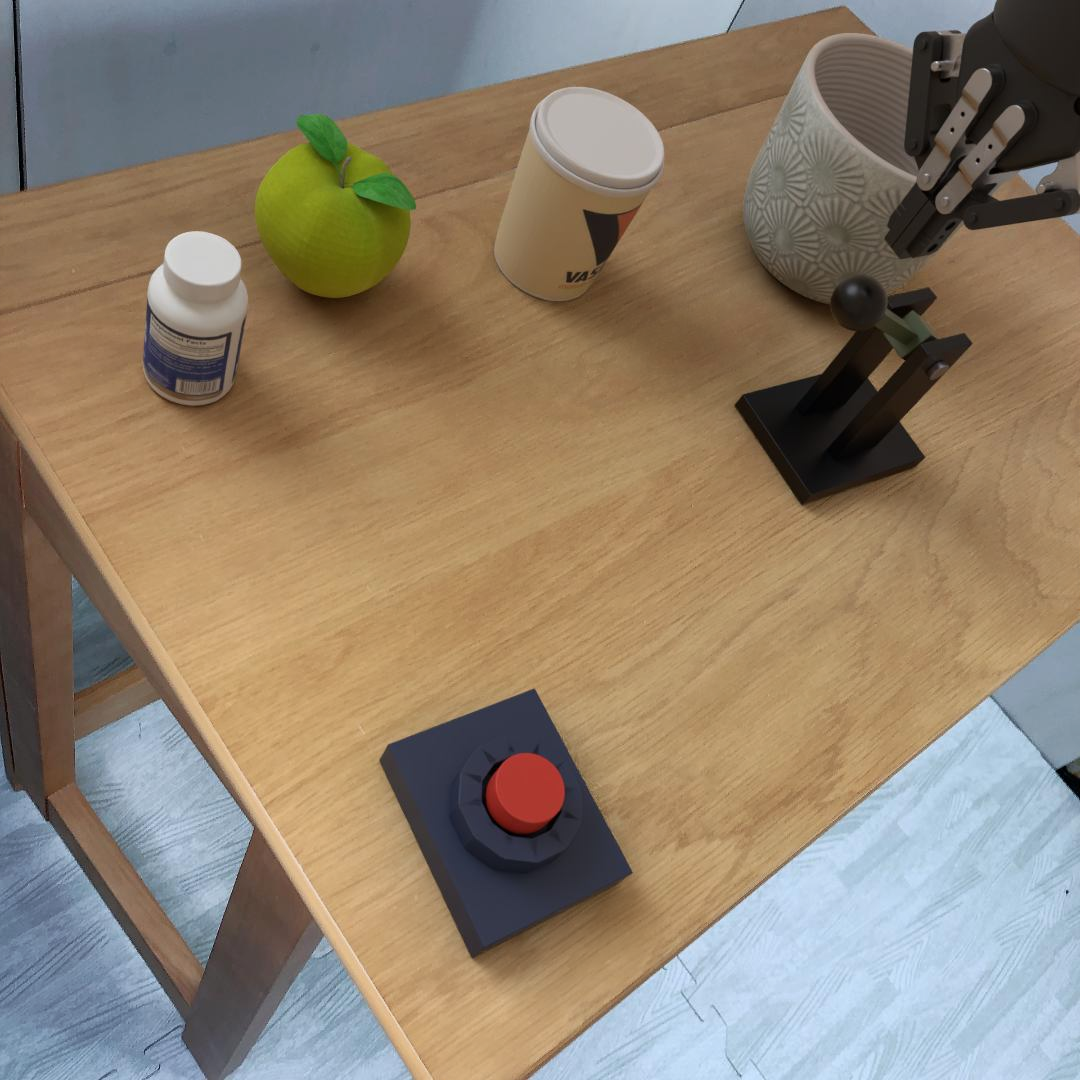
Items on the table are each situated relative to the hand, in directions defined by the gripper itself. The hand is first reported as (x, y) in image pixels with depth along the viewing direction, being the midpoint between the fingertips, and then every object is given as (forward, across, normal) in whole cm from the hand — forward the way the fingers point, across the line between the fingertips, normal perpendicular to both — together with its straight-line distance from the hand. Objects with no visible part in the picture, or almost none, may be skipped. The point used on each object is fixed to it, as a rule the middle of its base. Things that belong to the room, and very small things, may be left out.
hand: (902, 248), depth 63 cm
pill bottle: (+21, -16, -32) cm, 42 cm away
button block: (+21, +16, -28) cm, 38 cm away
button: (+17, +16, -28) cm, 36 cm away
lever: (+9, 0, +4) cm, 9 cm away
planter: (+21, -16, +20) cm, 33 cm away
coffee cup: (+21, -20, -4) cm, 29 cm away
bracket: (+21, 0, +10) cm, 23 cm away
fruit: (+21, -22, -22) cm, 37 cm away
